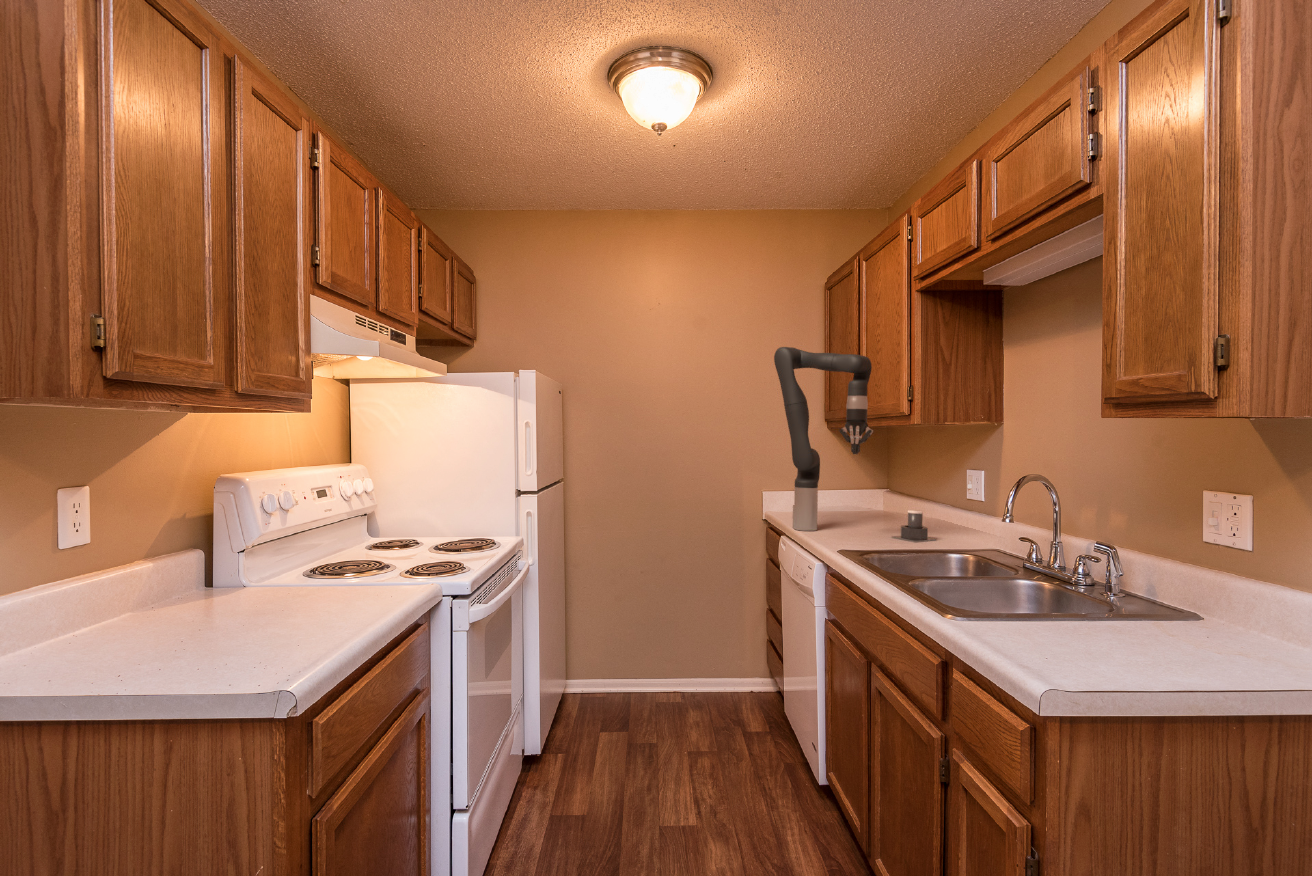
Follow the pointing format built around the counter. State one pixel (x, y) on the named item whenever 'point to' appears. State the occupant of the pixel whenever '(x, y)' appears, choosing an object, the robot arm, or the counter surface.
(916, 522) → the grey round peg
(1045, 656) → the counter surface
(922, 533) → the hex nut base plate
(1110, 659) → the counter surface
